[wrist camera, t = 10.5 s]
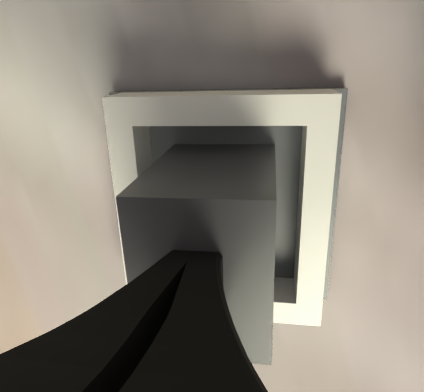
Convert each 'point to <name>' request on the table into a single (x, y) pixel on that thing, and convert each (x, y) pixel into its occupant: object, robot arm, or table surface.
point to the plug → (211, 225)
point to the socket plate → (251, 134)
